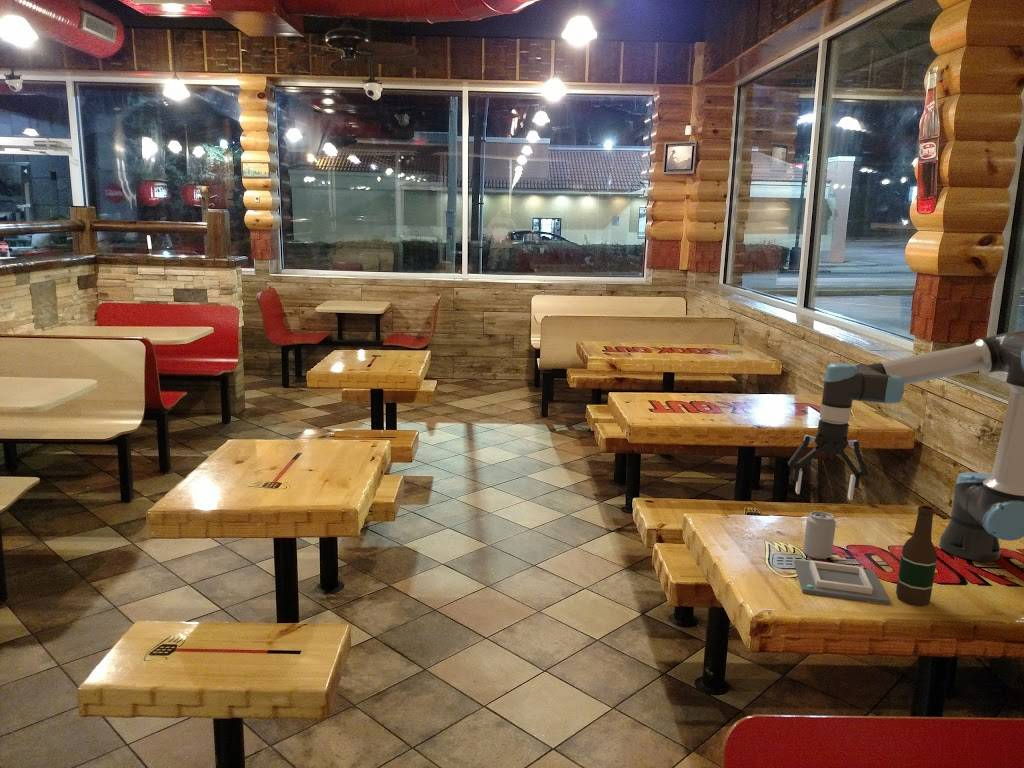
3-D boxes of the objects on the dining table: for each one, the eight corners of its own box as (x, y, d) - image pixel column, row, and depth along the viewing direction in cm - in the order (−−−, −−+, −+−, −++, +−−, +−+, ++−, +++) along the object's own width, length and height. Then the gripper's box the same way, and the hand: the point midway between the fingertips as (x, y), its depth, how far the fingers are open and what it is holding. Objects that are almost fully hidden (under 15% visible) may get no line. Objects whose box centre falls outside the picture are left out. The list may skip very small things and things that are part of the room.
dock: (873, 573, 206) (874, 564, 205) (889, 604, 188) (890, 595, 188) (793, 563, 210) (794, 554, 209) (802, 592, 193) (803, 583, 192)
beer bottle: (888, 592, 195) (902, 501, 190) (917, 592, 196) (932, 501, 191) (906, 606, 188) (921, 513, 183) (936, 606, 188) (952, 513, 184)
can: (826, 550, 219) (831, 510, 217) (834, 561, 212) (840, 520, 210) (799, 548, 220) (804, 508, 218) (806, 559, 213) (811, 518, 210)
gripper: (880, 422, 209) (869, 497, 214) (784, 412, 215) (774, 485, 219) (887, 428, 202) (875, 506, 206) (787, 418, 207) (777, 494, 212)
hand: (823, 495), depth 213 cm, fingers open, 13 cm apart
